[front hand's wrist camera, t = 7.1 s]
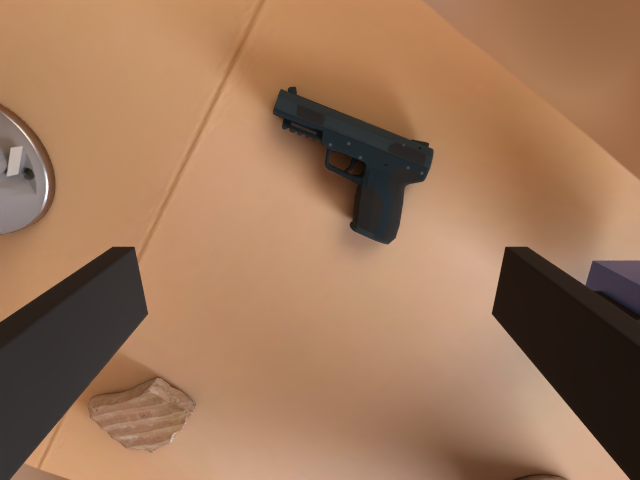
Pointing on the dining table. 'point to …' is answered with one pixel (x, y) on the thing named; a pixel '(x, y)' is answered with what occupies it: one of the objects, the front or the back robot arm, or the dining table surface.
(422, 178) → the handgun
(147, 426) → the stone
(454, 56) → the dining table surface
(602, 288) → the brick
